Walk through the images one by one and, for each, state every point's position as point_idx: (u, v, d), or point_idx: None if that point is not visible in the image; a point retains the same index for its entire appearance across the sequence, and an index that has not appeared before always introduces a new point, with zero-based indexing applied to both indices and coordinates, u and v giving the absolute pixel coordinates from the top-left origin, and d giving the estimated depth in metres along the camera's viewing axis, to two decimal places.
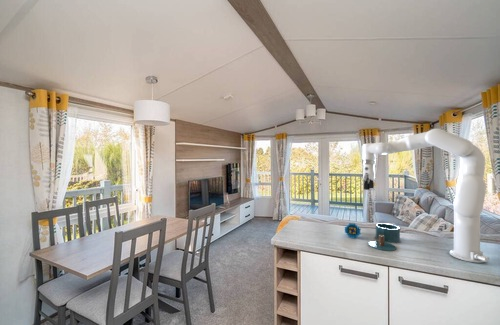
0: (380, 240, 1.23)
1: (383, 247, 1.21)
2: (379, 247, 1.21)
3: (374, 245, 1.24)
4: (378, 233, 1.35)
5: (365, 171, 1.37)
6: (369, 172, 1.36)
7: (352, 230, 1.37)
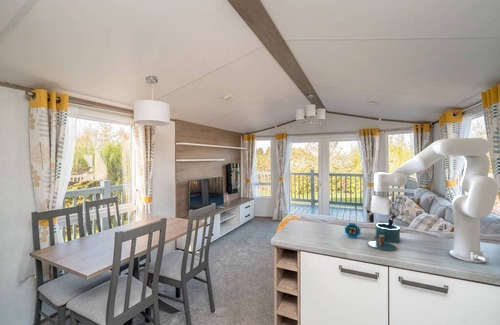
0: (380, 240, 1.23)
1: (383, 247, 1.21)
2: (379, 247, 1.21)
3: (374, 245, 1.24)
4: (378, 233, 1.35)
5: (390, 205, 1.20)
6: (391, 206, 1.21)
7: (352, 230, 1.37)
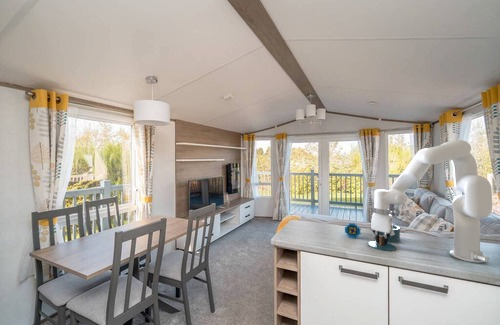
0: (380, 240, 1.23)
1: (383, 247, 1.21)
2: (379, 247, 1.21)
3: (374, 245, 1.24)
4: None
5: (390, 223, 1.20)
6: (392, 223, 1.21)
7: (352, 230, 1.37)
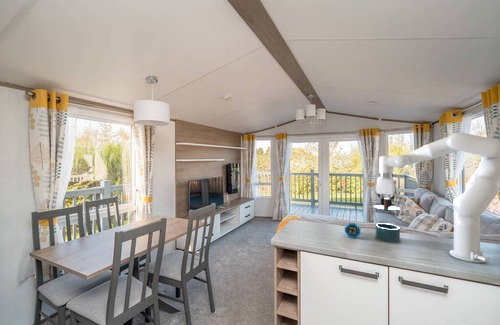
0: (385, 202, 1.32)
1: (388, 208, 1.29)
2: (384, 208, 1.29)
3: (379, 207, 1.32)
4: (378, 233, 1.35)
5: (394, 185, 1.28)
6: (396, 186, 1.30)
7: (352, 230, 1.37)
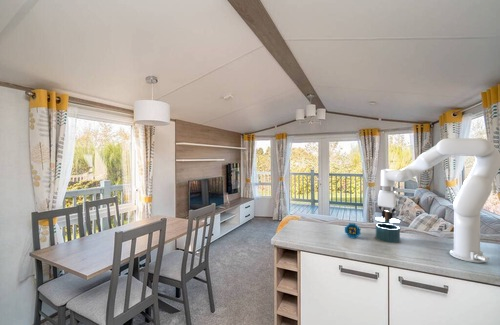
0: (386, 215, 1.35)
1: (389, 221, 1.32)
2: (385, 221, 1.32)
3: (380, 219, 1.35)
4: (378, 233, 1.35)
5: (395, 199, 1.31)
6: (397, 199, 1.33)
7: (352, 230, 1.37)
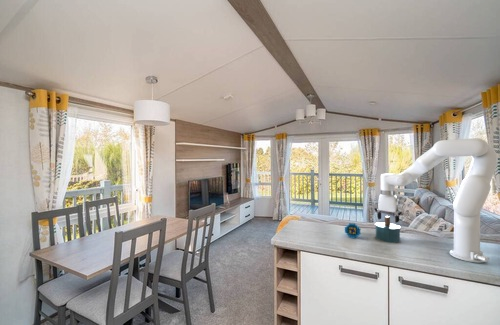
0: (386, 221, 1.35)
1: (389, 227, 1.32)
2: (385, 227, 1.32)
3: (380, 225, 1.35)
4: (378, 233, 1.35)
5: (396, 203, 1.31)
6: (397, 203, 1.32)
7: (352, 230, 1.37)
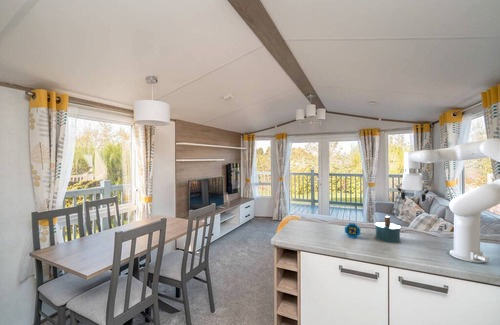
0: (386, 221, 1.35)
1: (389, 227, 1.32)
2: (385, 227, 1.32)
3: (380, 225, 1.35)
4: (378, 233, 1.35)
5: (422, 181, 1.25)
6: (423, 182, 1.26)
7: (352, 230, 1.37)
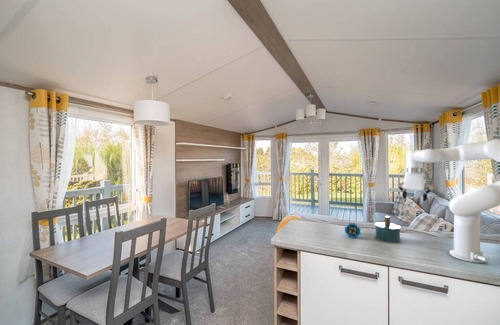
0: (386, 221, 1.35)
1: (389, 227, 1.32)
2: (385, 227, 1.32)
3: (380, 225, 1.35)
4: (378, 233, 1.35)
5: (424, 180, 1.25)
6: (425, 181, 1.26)
7: (352, 230, 1.37)
